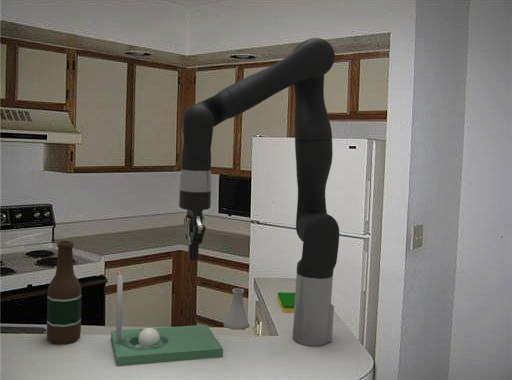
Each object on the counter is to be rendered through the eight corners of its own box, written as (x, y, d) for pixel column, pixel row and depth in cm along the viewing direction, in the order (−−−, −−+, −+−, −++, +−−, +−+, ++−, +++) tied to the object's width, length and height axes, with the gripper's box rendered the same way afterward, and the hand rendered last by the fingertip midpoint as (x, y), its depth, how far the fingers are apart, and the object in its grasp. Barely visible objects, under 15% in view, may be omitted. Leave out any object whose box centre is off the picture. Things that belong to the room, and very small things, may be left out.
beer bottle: (87, 337, 138) (89, 241, 135) (64, 347, 131) (65, 246, 128) (63, 330, 141) (64, 237, 139) (39, 340, 134) (40, 242, 131)
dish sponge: (282, 313, 164) (283, 305, 164) (277, 299, 178) (277, 292, 178) (306, 314, 165) (307, 306, 165) (299, 299, 179) (299, 292, 178)
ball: (137, 325, 134) (136, 345, 134) (140, 332, 129) (138, 353, 129) (158, 324, 135) (157, 344, 136) (162, 331, 131) (160, 352, 131)
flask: (246, 332, 147) (248, 295, 146) (219, 329, 148) (221, 292, 147) (252, 323, 154) (254, 287, 153) (226, 320, 155) (228, 285, 154)
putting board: (206, 332, 145) (209, 264, 143) (222, 356, 130) (226, 281, 128) (111, 338, 138) (112, 267, 136) (116, 365, 123) (118, 285, 121)
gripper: (218, 192, 130) (215, 265, 131) (203, 185, 142) (201, 252, 144) (186, 192, 127) (183, 266, 129) (174, 185, 139) (172, 253, 141)
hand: (193, 259), depth 136 cm, fingers closed
